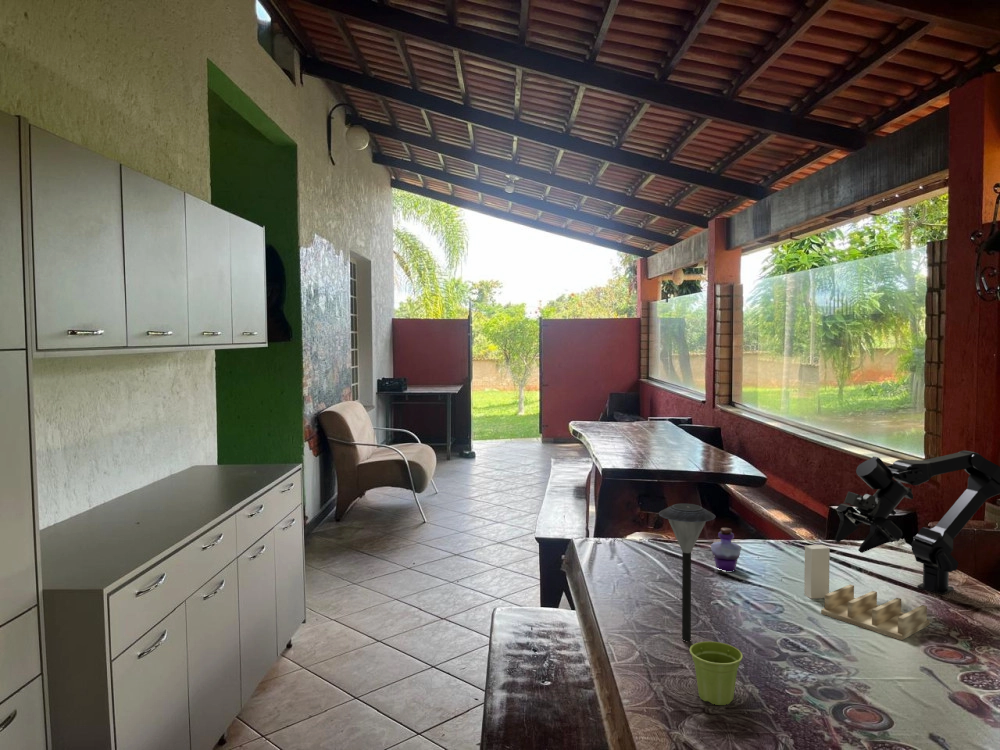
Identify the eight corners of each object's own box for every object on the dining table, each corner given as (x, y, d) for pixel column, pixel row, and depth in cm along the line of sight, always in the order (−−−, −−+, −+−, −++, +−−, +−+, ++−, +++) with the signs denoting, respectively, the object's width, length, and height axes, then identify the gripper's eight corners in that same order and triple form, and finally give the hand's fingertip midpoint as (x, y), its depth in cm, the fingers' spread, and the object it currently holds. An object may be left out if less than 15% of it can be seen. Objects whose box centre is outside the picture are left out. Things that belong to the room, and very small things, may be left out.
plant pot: (682, 686, 129) (682, 641, 129) (729, 683, 130) (729, 639, 130) (700, 712, 120) (700, 665, 120) (751, 709, 121) (751, 662, 120)
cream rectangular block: (822, 593, 176) (822, 544, 176) (829, 597, 173) (829, 548, 173) (804, 594, 176) (804, 545, 175) (811, 598, 173) (811, 549, 172)
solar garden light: (685, 657, 141) (685, 516, 140) (646, 635, 152) (646, 504, 150) (727, 645, 147) (728, 509, 145) (687, 624, 157) (688, 498, 156)
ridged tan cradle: (850, 600, 171) (850, 583, 171) (929, 624, 156) (930, 605, 156) (821, 613, 163) (821, 595, 163) (901, 640, 148) (902, 620, 148)
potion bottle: (723, 562, 202) (724, 523, 201) (747, 570, 194) (748, 529, 194) (704, 567, 197) (704, 527, 197) (727, 576, 190) (728, 534, 189)
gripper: (841, 474, 183) (805, 517, 182) (890, 488, 165) (851, 537, 164) (867, 499, 185) (832, 543, 184) (920, 516, 166) (881, 565, 165)
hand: (847, 546), depth 174 cm, fingers open, 9 cm apart
